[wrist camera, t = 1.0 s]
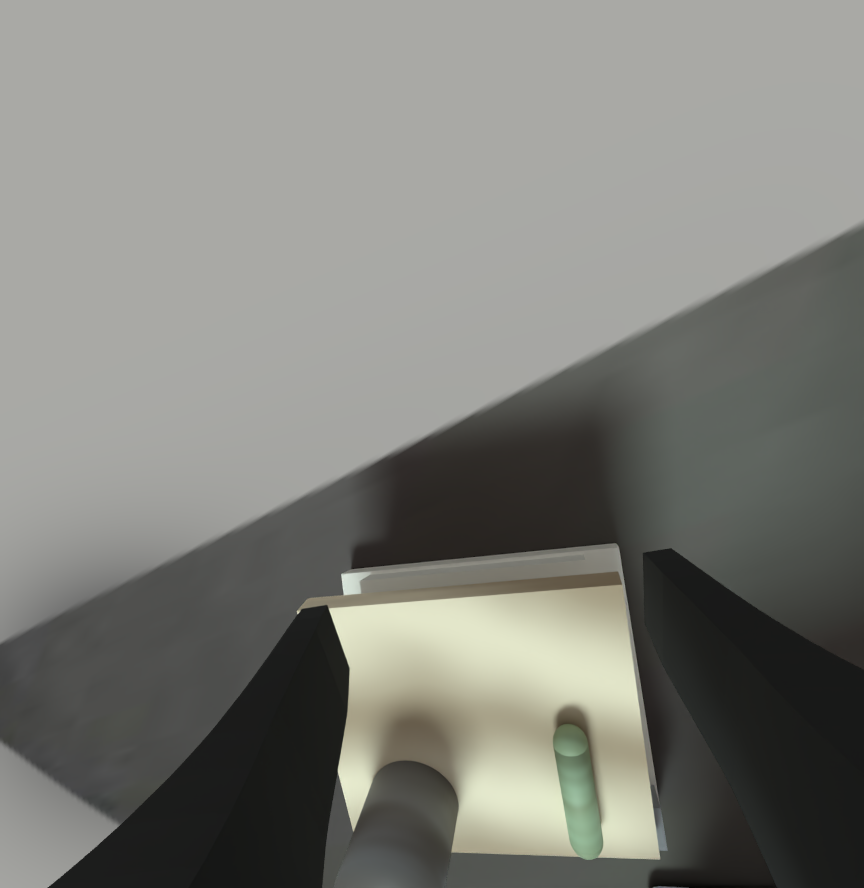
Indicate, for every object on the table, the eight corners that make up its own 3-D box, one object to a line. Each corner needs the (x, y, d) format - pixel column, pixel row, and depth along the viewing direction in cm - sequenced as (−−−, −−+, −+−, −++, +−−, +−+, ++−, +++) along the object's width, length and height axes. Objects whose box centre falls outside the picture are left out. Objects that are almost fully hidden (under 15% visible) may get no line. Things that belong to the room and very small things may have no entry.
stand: (657, 806, 23) (670, 850, 20) (380, 802, 26) (359, 840, 23) (615, 542, 24) (623, 553, 21) (351, 569, 27) (328, 581, 24)
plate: (655, 843, 20) (691, 1001, 16) (367, 835, 23) (321, 967, 18) (618, 571, 18) (645, 656, 14) (308, 598, 21) (239, 676, 16)
